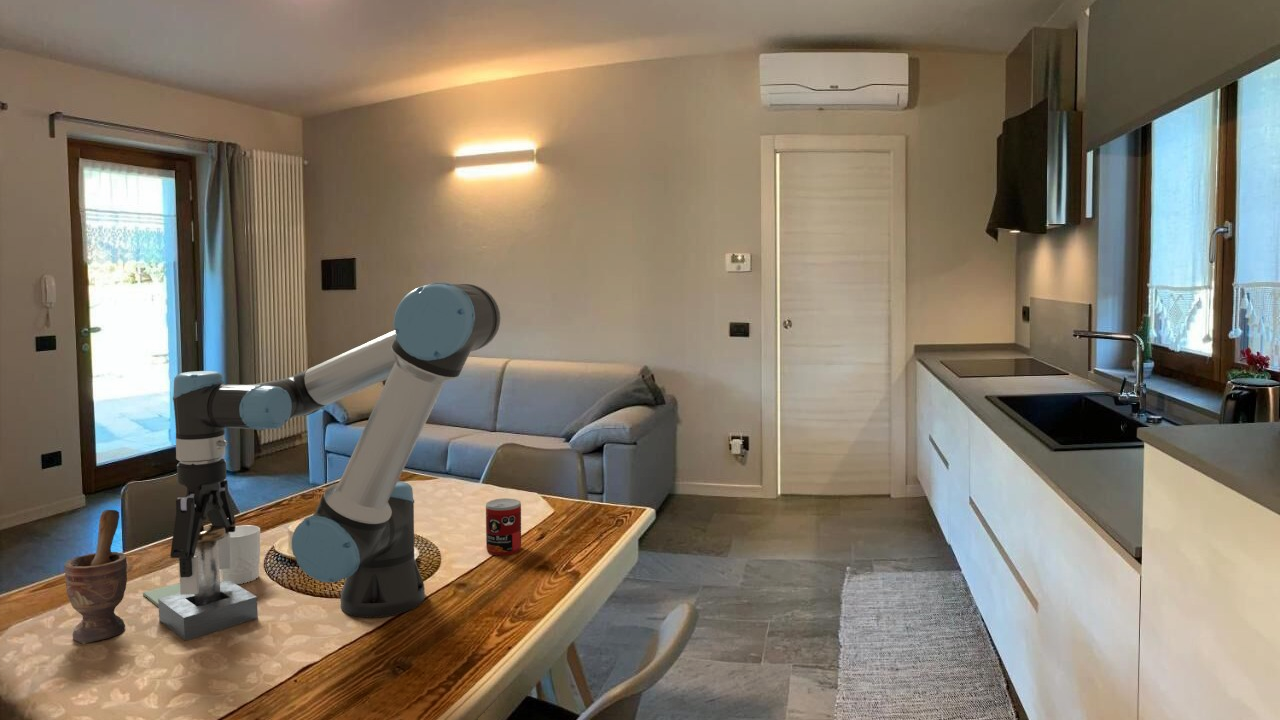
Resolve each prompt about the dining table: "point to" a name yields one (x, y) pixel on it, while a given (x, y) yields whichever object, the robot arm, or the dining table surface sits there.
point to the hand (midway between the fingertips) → (206, 580)
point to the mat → (162, 592)
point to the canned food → (503, 526)
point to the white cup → (243, 555)
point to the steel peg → (208, 564)
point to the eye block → (207, 611)
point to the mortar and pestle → (98, 585)
